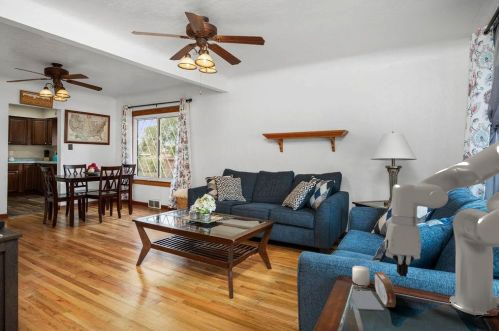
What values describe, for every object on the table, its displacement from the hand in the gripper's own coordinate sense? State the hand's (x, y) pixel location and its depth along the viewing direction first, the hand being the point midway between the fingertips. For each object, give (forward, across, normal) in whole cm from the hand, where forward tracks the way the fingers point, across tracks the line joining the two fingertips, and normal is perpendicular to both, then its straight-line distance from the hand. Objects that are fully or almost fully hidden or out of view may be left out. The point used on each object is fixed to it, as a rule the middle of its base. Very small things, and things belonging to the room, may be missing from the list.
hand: (402, 275), depth 97 cm
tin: (+9, +6, 0) cm, 11 cm away
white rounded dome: (+9, +10, -13) cm, 19 cm away
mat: (+9, +12, 0) cm, 15 cm away
